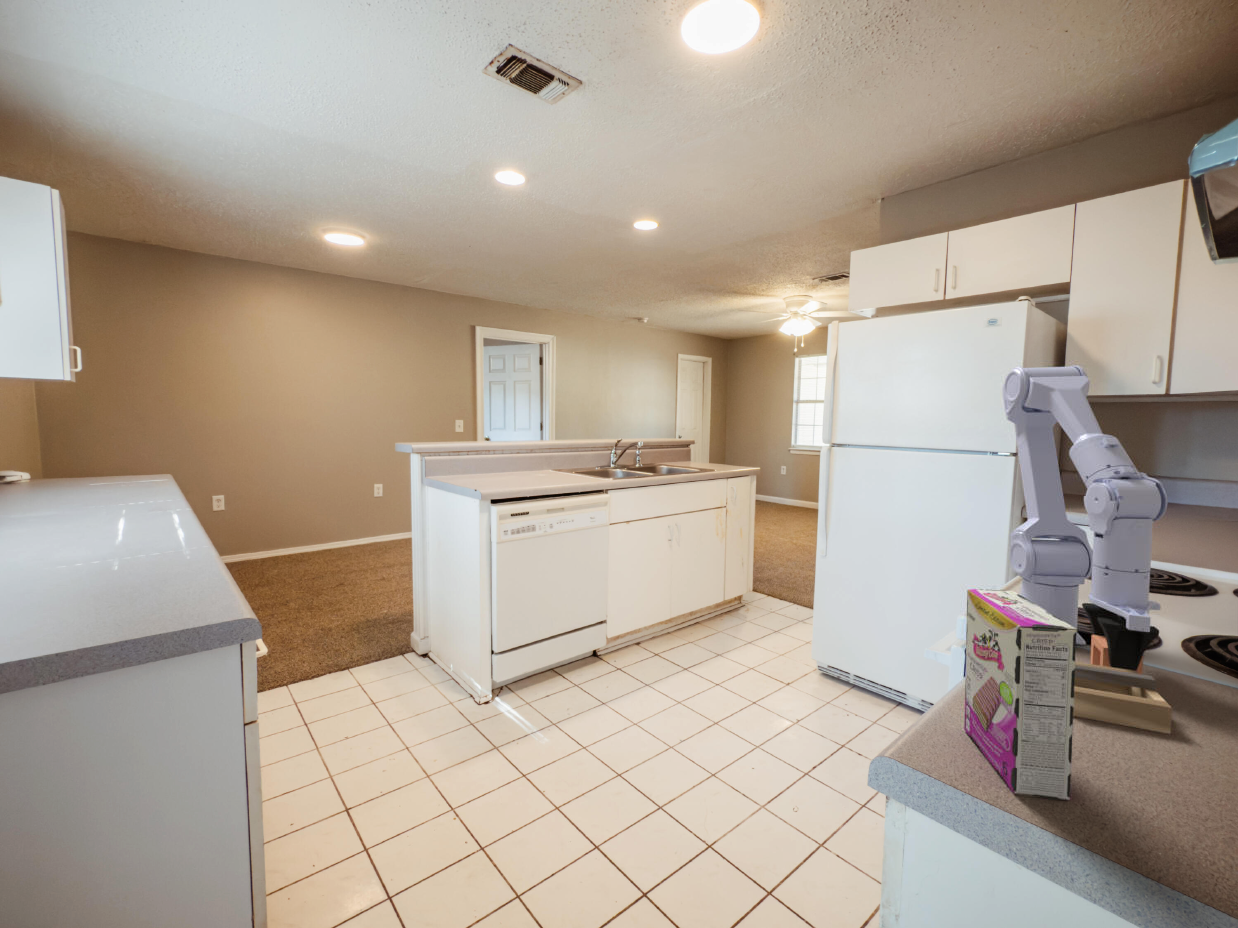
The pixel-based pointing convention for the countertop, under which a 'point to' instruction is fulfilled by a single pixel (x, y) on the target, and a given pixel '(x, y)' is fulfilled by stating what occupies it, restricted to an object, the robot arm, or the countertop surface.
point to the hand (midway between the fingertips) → (1115, 665)
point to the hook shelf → (1119, 698)
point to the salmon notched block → (1104, 653)
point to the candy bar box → (1020, 691)
